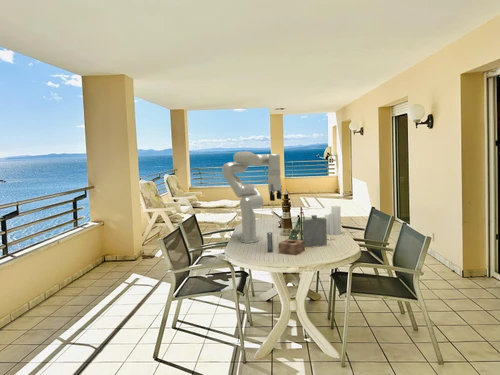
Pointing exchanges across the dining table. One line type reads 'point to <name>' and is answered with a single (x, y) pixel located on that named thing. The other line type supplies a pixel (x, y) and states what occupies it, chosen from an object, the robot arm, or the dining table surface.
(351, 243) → the dining table surface
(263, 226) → the dining table surface
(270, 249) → the grey metal rod
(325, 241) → the hip flask
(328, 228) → the vase
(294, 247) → the wooden square hole block
